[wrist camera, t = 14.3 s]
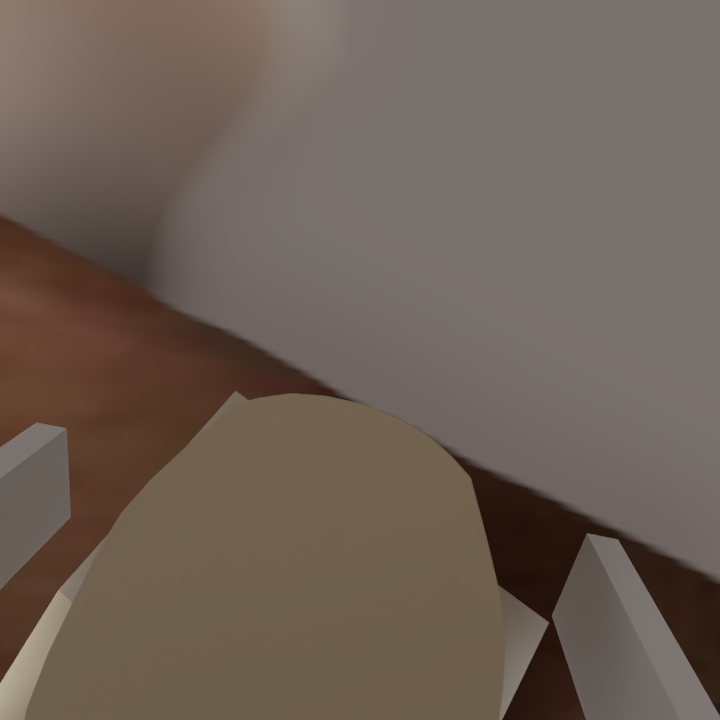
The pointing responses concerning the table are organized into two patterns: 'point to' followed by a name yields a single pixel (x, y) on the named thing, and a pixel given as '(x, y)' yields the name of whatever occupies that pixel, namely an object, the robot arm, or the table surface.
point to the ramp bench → (11, 697)
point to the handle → (288, 581)
